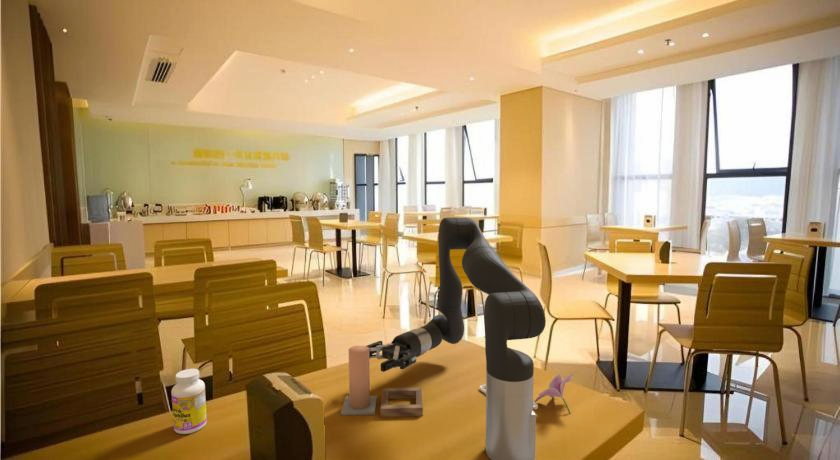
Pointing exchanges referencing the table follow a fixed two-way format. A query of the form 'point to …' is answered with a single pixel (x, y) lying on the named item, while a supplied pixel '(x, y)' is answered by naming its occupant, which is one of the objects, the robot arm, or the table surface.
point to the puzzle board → (401, 409)
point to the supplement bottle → (188, 402)
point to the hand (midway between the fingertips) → (369, 363)
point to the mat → (365, 411)
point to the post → (359, 377)
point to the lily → (556, 388)
